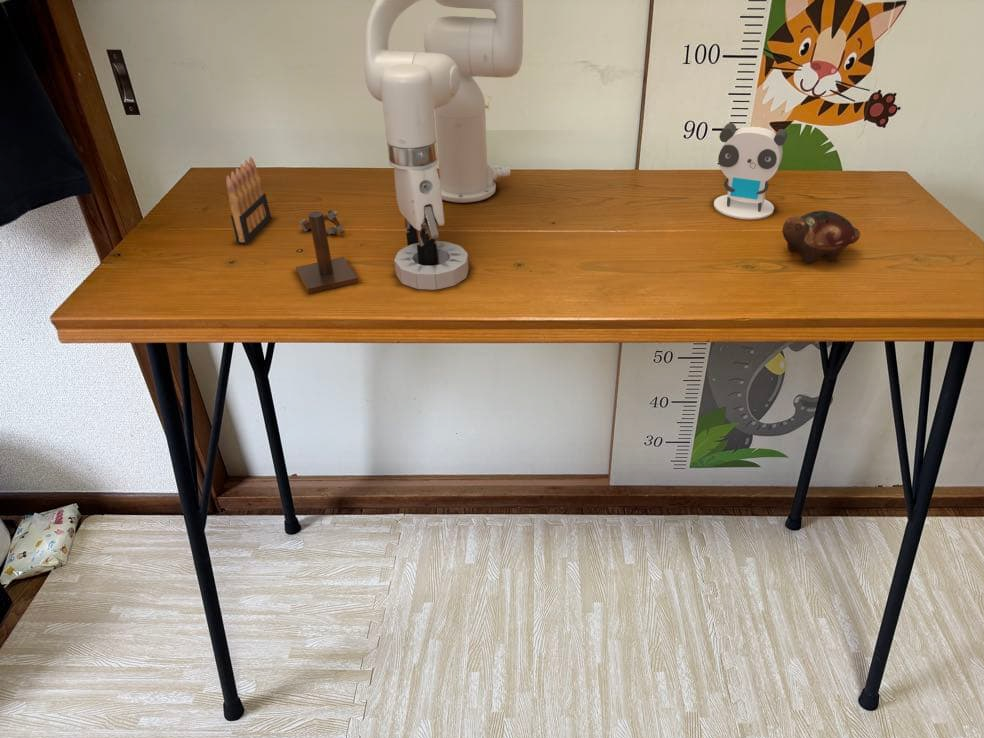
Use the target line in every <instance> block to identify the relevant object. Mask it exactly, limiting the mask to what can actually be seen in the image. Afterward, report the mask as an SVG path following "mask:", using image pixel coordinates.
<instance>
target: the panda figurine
mask: <svg viewBox="0 0 984 738" xmlns="http://www.w3.org/2000/svg"><path fill="white" fill-rule="evenodd" d="M718 138H719V141H721V142H722V143H724V144H723V145H722V147H721V149H720V151H719V153H718V158H717V162H718V166H719V168H720V171H721V172H722V174H723V175H724V177H726V179H725V180H724V181H723V186H724V189H725V190H727V194H724V195H720V196H718V197H716V198H715V199H714V202H713V207H714V209H715V210H716V211H717V212H719V213H720V214H722V215H724V216H727V217H730V218H734V219H738V220H739V219H740V220H760V219H765V218H768V217H770V216H771V215H772V214H773V213H774V210H775V206H774V204H773V203H772V202H771V201H769V200H767V199H766V192H767V191H768V189H769V182H768V181H769V180H770V179H772V178H773V177H774V175H776V173H777V171H778V170H779V167H780V165H781V162H782V160H783V146H784V145H785V142H786V140H787V138H788V131H787V130H786V129H785V128H784V129H783V128H779V129H778V130H777V131H776V132H774V131H773V130H772V129H769V128H765V127H760V126H744V127H740V128H738V129H737V126H736V124H734V123H733V122H728V123H726V125H724V127H723V128H722V130H721V131H720V133H719V137H718Z"/></svg>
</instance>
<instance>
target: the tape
mask: <svg viewBox="0 0 984 738" xmlns="http://www.w3.org/2000/svg"><path fill="white" fill-rule="evenodd" d="M417 245H419V243H415V244H411V245H409V246H408V245H406V246H405V247H404V248H402V249H400V250H399V251H397V253H396V255H395V257H394V259H393V260H394V268H395V276H396V278H397V279H398V280H399V281H400V282H401V284H403V285H404V286H408V287H410V288H412V289H416V290H428V291H429V290H432V291H433V290H434V291H436V290H440V289H445V288H450V287H453V286H456V285H458V284H459V283H461V282H462V281H464V280H465V279H466V278H468V273H469V269H470V267H469V265H470V264H469V253H468V252H467V251H466V250H465V249H464V248H463V246H461V245H459V244H456V243H452V242H449V241H443V240H437V256H438V264H437V265H433V266H423V265H420V264H419V262H418V252H417Z"/></svg>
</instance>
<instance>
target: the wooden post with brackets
mask: <svg viewBox="0 0 984 738" xmlns="http://www.w3.org/2000/svg"><path fill="white" fill-rule="evenodd" d="M338 214H339V213H338V211H336V210H331V209H329V210H327V213H326V214H323V216H324V222H326V221H329V222H330V223H331V224H334V225H333V226H332V227H328V228H326V233H327V235H331V234H333V235H334V234H335V233H336V232H337V231H338V233H340V235H343V234H344V233H345V230H344V228H343V226H342V224H341V223H340V222H339V220H338V218H337V216H338ZM299 224H300V226H301V228H302V229H303V232H307V231H309V230H311V226H310V221H309V219H307V218H304V219H302V221H300V222H299Z"/></svg>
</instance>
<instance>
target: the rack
mask: <svg viewBox="0 0 984 738" xmlns="http://www.w3.org/2000/svg"><path fill="white" fill-rule="evenodd" d="M323 215H324V212H322V211H319V210H315V211H311V212H309V213H308V220H309V221H310V226H311V228H310V230H311V236H312V241H313V246H314V252H315V258H316V262H313V263H308V264H304V265H298V266H296V267H295V270H296V273H297V275H298V277H299V278H300V281H301V282H302V284H303V287H304V288H305V290H306V291H307V293H308V295H310V294H311V295H312V294H315V293H319V292H323V291H329V290H332V289H336V288H337V289H338V288H342V287H346V286H351V285H355V284H359V278H358V276H357V274H356V273H355V272H354V269H353V268H352V267H351V265H350V264H349V263H348V261H347V260H346V258H345V257H344V256H341V257H336V258H332V256H331V251H330V246H329V245H330V244H329V239H328V233H326V231H327V227H326V223H325V222H326V221H325V222H324V216H323Z"/></svg>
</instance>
